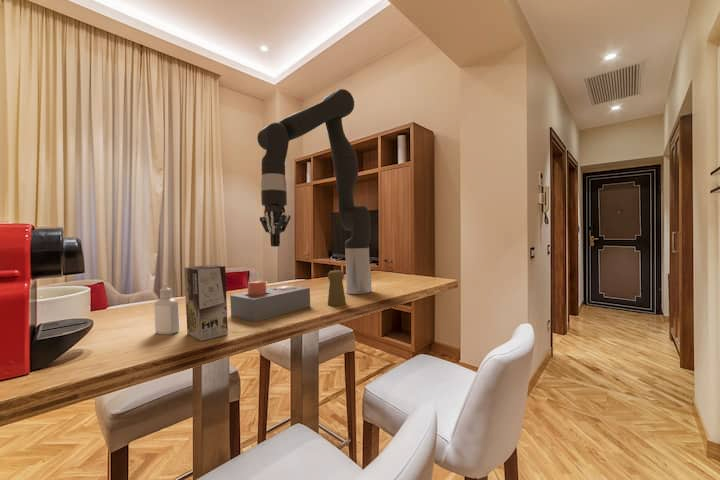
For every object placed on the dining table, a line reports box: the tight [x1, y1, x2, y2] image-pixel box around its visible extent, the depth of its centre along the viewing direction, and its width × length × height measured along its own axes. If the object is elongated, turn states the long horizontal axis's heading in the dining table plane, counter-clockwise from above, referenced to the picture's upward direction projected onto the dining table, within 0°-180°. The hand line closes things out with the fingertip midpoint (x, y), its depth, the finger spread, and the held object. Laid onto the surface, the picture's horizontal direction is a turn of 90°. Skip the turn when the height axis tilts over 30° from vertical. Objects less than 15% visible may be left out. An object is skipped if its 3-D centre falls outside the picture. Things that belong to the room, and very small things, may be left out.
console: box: [229, 284, 311, 323], centre depth 93 cm, size 20×12×6 cm, turn 142°
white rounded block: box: [276, 285, 294, 291], centre depth 97 cm, size 5×5×6 cm
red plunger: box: [247, 280, 267, 297], centre depth 89 cm, size 5×5×6 cm
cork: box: [327, 269, 347, 307], centre depth 99 cm, size 6×6×11 cm
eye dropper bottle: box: [153, 283, 180, 335], centre depth 75 cm, size 4×6×12 cm
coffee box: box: [183, 264, 229, 342], centre depth 72 cm, size 9×6×16 cm
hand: (275, 246), depth 94 cm, fingers closed
